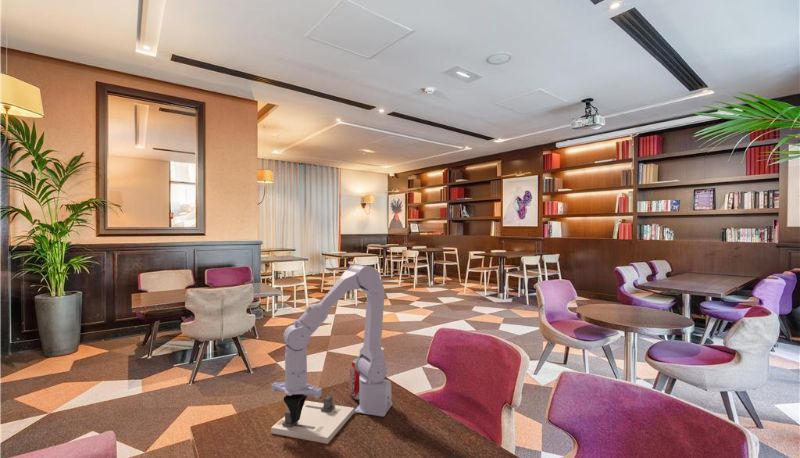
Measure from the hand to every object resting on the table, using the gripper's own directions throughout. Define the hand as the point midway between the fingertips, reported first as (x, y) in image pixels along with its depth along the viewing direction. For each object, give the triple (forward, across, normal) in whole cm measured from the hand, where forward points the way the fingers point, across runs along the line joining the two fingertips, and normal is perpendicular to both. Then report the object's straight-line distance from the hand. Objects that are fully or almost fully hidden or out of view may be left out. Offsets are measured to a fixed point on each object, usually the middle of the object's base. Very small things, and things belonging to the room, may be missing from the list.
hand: (296, 420), depth 95 cm
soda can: (+3, +9, +23) cm, 25 cm away
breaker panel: (+3, +3, +5) cm, 6 cm away
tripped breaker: (+1, -2, 0) cm, 2 cm away
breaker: (+1, +4, +10) cm, 11 cm away
